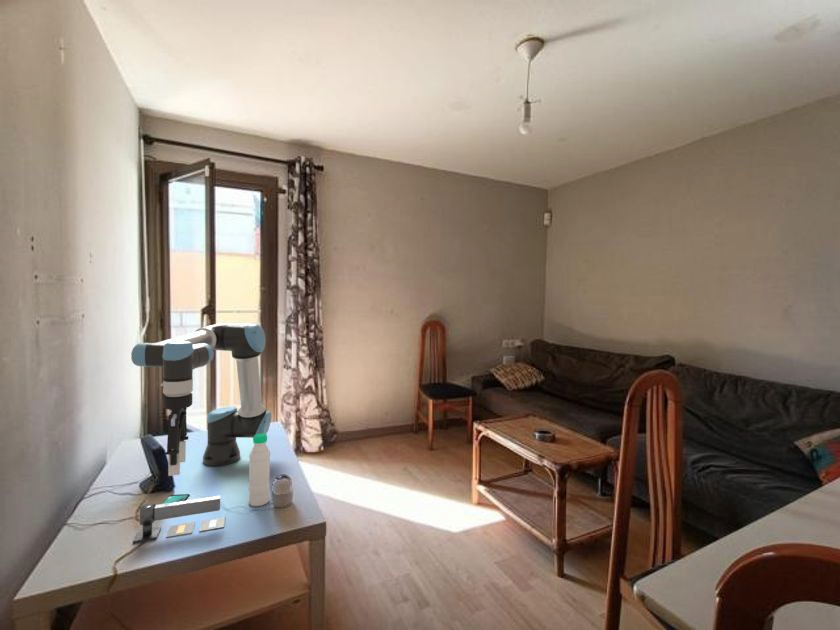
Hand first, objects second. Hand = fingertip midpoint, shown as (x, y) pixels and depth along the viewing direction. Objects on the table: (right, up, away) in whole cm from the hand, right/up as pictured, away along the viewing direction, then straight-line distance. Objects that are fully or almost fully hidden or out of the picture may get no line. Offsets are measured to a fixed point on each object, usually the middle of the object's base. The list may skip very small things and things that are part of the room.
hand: (177, 468), depth 115 cm
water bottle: (+14, -23, +26) cm, 37 cm away
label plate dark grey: (+5, -23, +11) cm, 26 cm away
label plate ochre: (-4, -23, +7) cm, 24 cm away
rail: (-3, -18, +7) cm, 20 cm away
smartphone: (-16, -22, +21) cm, 34 cm away
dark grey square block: (-12, -23, +4) cm, 26 cm away
